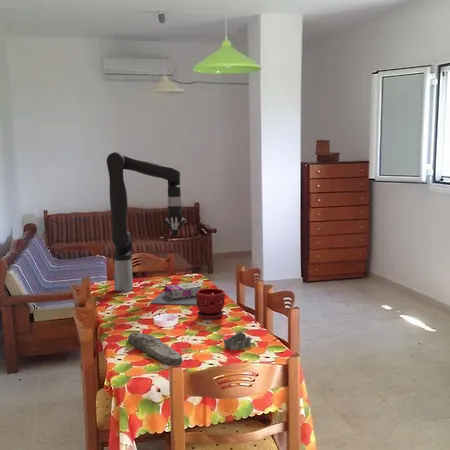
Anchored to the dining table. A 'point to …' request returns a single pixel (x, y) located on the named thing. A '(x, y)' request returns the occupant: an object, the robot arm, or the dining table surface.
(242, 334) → the egg carton
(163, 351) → the long grey stone
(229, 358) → the dining table surface
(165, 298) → the rubber mat
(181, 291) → the candy bar box
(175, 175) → the robot arm
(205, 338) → the dining table surface
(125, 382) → the dining table surface
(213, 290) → the plant pot
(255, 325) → the dining table surface
